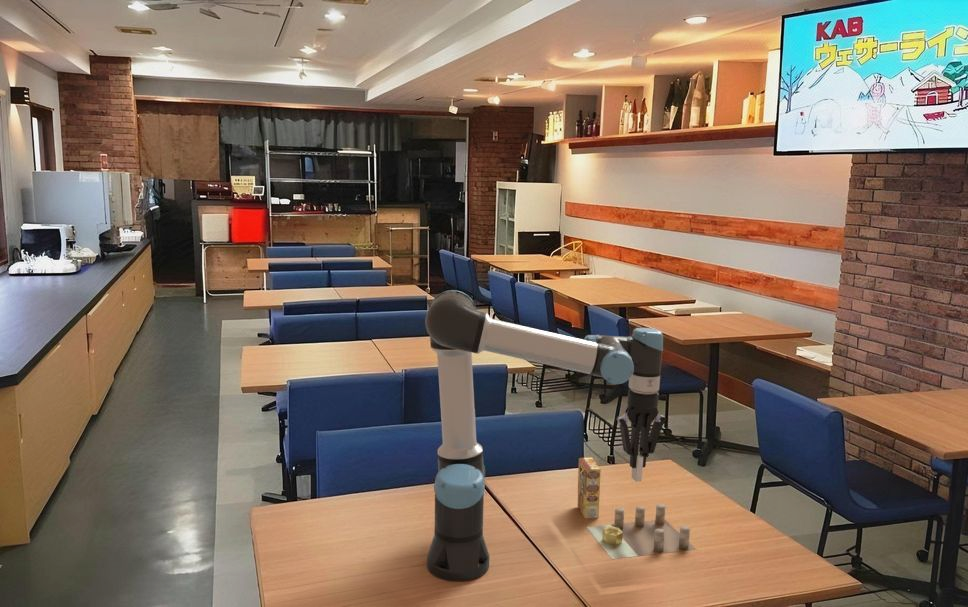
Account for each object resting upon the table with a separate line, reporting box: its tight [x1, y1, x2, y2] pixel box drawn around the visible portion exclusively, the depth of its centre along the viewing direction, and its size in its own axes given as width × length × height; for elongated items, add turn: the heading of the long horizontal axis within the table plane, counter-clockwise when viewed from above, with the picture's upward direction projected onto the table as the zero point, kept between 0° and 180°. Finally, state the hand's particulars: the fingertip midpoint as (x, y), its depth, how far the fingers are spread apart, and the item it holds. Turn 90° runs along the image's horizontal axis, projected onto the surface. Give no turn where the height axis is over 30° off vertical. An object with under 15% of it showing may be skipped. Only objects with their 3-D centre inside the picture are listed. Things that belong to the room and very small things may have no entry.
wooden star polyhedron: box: [602, 526, 623, 546], centre depth 189 cm, size 4×5×3 cm
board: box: [586, 503, 698, 560], centre depth 190 cm, size 23×17×6 cm
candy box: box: [576, 457, 602, 519], centre depth 205 cm, size 9×4×15 cm, turn 8°
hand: (636, 479), depth 188 cm, fingers closed
